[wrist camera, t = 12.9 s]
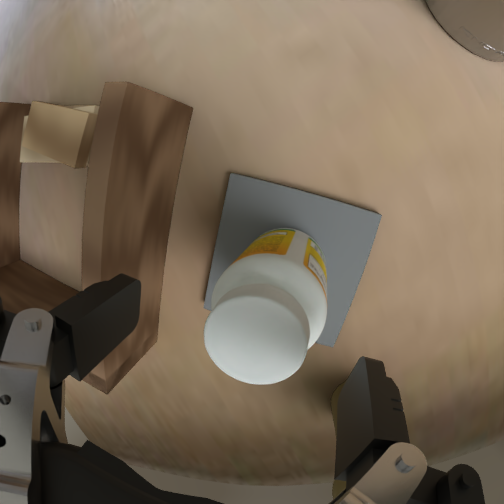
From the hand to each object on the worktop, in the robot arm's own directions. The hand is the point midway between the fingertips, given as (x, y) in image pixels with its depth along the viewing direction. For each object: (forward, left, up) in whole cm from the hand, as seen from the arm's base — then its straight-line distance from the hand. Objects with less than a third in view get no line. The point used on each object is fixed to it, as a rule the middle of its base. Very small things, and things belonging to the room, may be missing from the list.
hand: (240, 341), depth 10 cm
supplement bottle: (+1, +1, -11) cm, 11 cm away
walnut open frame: (+1, -19, -11) cm, 22 cm away
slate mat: (+1, +1, -11) cm, 11 cm away
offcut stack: (-5, -19, -11) cm, 23 cm away
